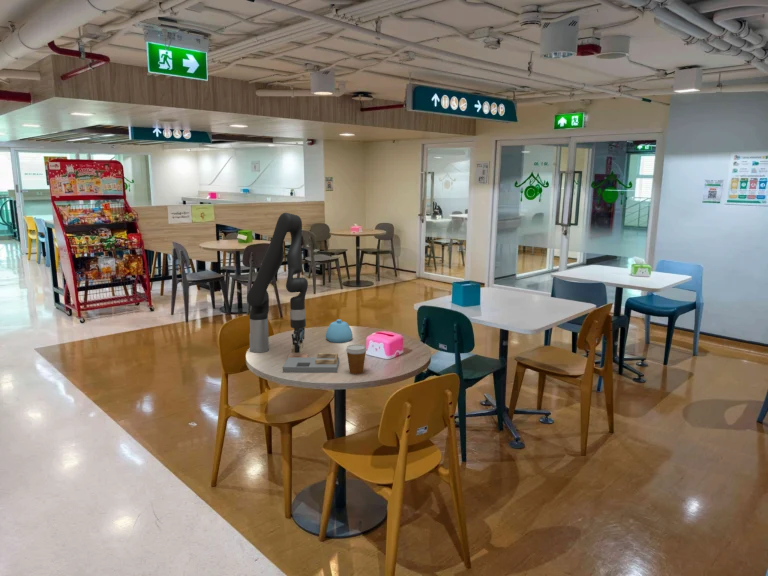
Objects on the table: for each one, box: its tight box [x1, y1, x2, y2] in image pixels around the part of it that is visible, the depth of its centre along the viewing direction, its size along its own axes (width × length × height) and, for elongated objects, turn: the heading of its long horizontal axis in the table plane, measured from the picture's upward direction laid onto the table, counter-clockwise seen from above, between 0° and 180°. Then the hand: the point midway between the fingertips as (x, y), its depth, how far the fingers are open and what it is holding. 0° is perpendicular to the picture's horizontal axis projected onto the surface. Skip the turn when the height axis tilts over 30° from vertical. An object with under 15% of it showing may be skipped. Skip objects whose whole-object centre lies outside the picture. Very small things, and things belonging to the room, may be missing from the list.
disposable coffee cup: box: [345, 344, 368, 375], centre depth 260 cm, size 10×10×12 cm
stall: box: [315, 353, 339, 364], centre depth 269 cm, size 10×10×2 cm
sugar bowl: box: [325, 318, 353, 344], centre depth 314 cm, size 15×15×12 cm
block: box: [290, 342, 304, 354], centre depth 281 cm, size 5×5×4 cm
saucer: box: [287, 352, 309, 358], centre depth 282 cm, size 10×10×1 cm
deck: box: [282, 356, 340, 374], centre depth 267 cm, size 25×15×2 cm, turn 90°
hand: (298, 350), depth 281 cm, fingers closed on block, 5 cm apart
